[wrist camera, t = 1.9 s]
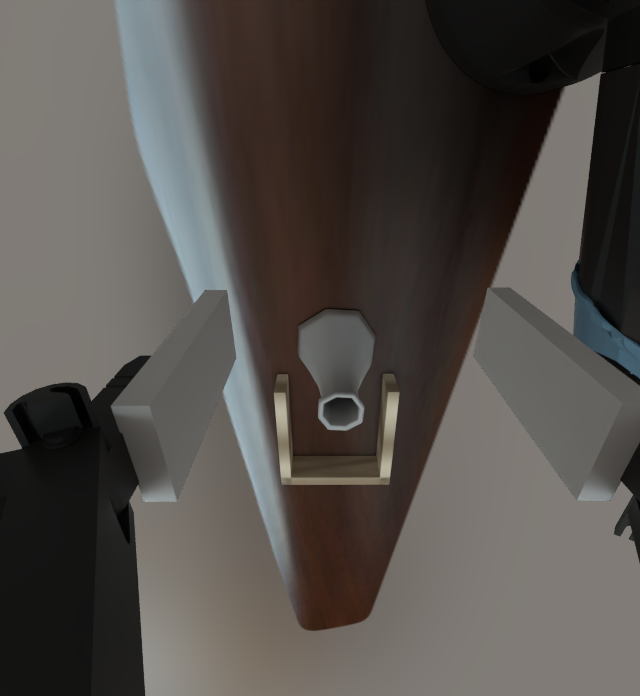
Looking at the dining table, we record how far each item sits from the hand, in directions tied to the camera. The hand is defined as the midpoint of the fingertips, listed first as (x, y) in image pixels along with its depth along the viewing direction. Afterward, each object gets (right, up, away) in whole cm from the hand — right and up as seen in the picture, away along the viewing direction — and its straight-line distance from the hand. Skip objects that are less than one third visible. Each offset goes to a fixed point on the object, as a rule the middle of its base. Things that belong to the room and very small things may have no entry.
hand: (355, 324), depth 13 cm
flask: (0, 0, +20) cm, 20 cm away
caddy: (0, -8, +24) cm, 25 cm away
